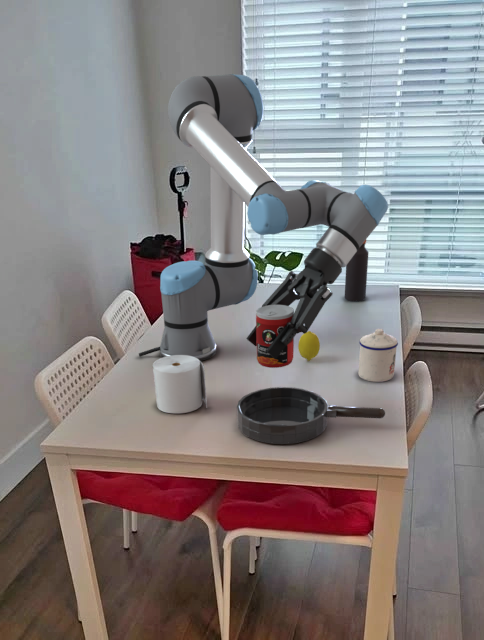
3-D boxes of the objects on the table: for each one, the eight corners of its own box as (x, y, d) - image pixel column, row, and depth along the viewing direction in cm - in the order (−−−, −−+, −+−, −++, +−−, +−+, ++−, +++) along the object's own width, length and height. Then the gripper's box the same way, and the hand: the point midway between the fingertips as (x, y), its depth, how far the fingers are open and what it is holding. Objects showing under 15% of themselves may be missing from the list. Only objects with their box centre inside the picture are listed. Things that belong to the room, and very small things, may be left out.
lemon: (318, 365, 173) (319, 335, 169) (296, 364, 174) (297, 334, 170) (320, 357, 178) (321, 327, 173) (299, 356, 179) (299, 327, 174)
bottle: (344, 301, 218) (347, 237, 207) (344, 295, 223) (347, 232, 213) (365, 302, 217) (369, 237, 206) (365, 295, 222) (369, 232, 212)
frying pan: (230, 443, 139) (229, 423, 136) (245, 403, 155) (244, 385, 152) (324, 447, 136) (325, 428, 133) (328, 406, 152) (329, 388, 149)
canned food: (251, 366, 141) (250, 314, 135) (264, 352, 147) (264, 302, 141) (286, 370, 138) (286, 318, 132) (298, 356, 144) (299, 306, 138)
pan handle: (324, 418, 141) (324, 409, 140) (325, 412, 144) (325, 403, 143) (385, 421, 139) (385, 411, 138) (384, 415, 142) (385, 405, 141)
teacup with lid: (397, 382, 162) (402, 335, 156) (359, 383, 162) (362, 336, 156) (389, 363, 172) (393, 319, 166) (353, 364, 173) (356, 320, 166)
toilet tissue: (159, 394, 160) (155, 355, 155) (210, 393, 160) (207, 354, 155) (153, 414, 151) (149, 373, 146) (206, 413, 151) (204, 372, 146)
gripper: (369, 280, 131) (297, 374, 134) (312, 258, 147) (248, 343, 149) (348, 257, 127) (274, 355, 129) (291, 236, 142) (226, 324, 145)
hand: (260, 348), depth 139 cm, fingers closed on canned food, 8 cm apart
